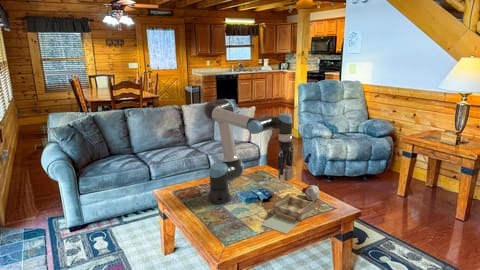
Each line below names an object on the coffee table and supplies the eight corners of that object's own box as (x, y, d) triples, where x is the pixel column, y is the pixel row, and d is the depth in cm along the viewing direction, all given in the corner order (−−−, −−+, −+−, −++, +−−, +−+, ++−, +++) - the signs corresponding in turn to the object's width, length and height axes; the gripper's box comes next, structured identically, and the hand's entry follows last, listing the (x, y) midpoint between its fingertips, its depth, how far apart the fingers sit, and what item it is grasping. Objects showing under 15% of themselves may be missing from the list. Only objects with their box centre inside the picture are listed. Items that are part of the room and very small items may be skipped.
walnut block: (278, 179, 192) (278, 169, 191) (283, 176, 197) (283, 166, 195) (287, 181, 188) (287, 171, 187) (292, 178, 193) (292, 168, 192)
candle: (317, 203, 204) (297, 199, 215) (326, 197, 212) (306, 194, 223) (316, 190, 203) (296, 186, 213) (325, 184, 211) (305, 181, 221)
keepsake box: (274, 212, 194) (274, 203, 193) (287, 202, 207) (288, 193, 206) (301, 221, 184) (301, 211, 182) (314, 210, 197) (314, 200, 195)
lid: (261, 225, 181) (261, 220, 180) (275, 214, 193) (275, 209, 192) (286, 235, 172) (286, 229, 171) (300, 222, 184) (300, 217, 183)
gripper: (282, 144, 178) (282, 184, 183) (298, 137, 192) (298, 174, 197) (270, 143, 182) (271, 181, 187) (287, 136, 197) (287, 172, 202)
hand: (285, 177), depth 192 cm, fingers closed on walnut block, 6 cm apart
